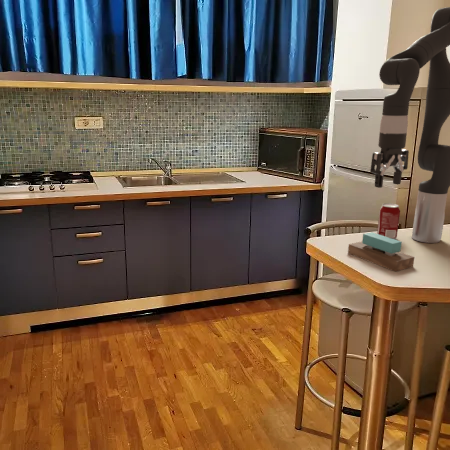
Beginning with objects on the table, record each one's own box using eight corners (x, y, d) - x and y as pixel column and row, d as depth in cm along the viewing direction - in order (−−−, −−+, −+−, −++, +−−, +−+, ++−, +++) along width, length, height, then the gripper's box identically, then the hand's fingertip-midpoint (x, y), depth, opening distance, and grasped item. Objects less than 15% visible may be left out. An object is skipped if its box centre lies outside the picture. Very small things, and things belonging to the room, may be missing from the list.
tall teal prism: (369, 253, 143) (371, 232, 141) (398, 264, 134) (401, 241, 132) (360, 255, 141) (363, 234, 139) (389, 266, 132) (392, 243, 130)
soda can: (398, 241, 156) (402, 207, 153) (377, 239, 157) (381, 206, 154) (394, 235, 163) (399, 203, 159) (375, 234, 164) (379, 202, 161)
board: (365, 249, 147) (366, 240, 146) (413, 266, 133) (414, 257, 132) (347, 253, 143) (348, 244, 142) (395, 271, 128) (396, 261, 128)
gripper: (397, 129, 138) (392, 181, 143) (366, 131, 131) (361, 186, 135) (419, 131, 132) (412, 185, 137) (388, 133, 125) (382, 190, 129)
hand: (387, 185), depth 136 cm, fingers open, 8 cm apart
